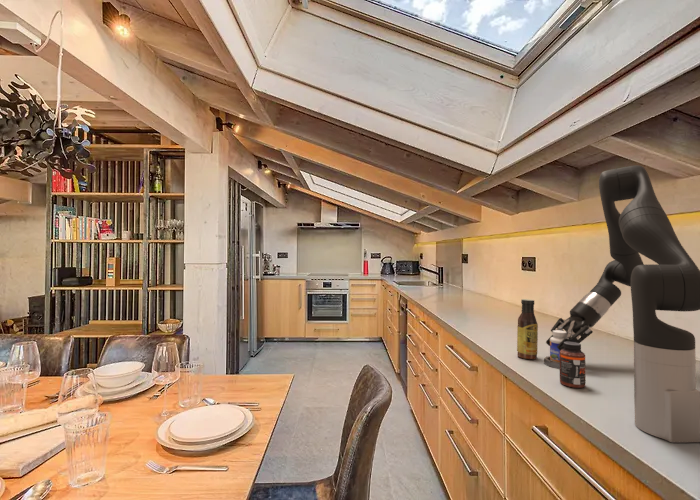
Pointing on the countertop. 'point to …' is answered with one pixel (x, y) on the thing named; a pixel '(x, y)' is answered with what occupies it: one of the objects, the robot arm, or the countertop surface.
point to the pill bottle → (556, 344)
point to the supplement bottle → (572, 365)
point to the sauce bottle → (527, 331)
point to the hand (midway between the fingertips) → (554, 347)
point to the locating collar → (551, 362)
